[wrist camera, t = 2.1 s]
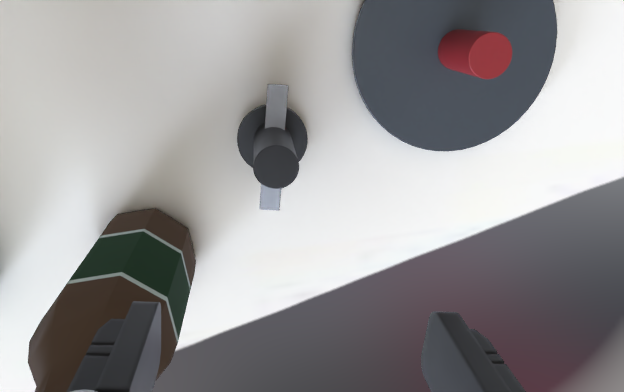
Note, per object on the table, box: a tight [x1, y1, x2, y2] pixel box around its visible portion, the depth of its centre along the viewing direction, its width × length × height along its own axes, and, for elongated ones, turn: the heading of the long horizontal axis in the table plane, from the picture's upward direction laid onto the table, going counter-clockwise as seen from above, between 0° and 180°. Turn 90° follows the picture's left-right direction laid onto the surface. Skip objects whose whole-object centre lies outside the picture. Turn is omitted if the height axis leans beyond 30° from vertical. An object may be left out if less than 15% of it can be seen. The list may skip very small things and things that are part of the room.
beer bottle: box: [28, 208, 196, 392], centre depth 28 cm, size 8×8×24 cm
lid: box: [352, 0, 557, 151], centre depth 33 cm, size 15×15×7 cm
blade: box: [237, 84, 307, 210], centre depth 34 cm, size 9×5×8 cm, turn 174°
